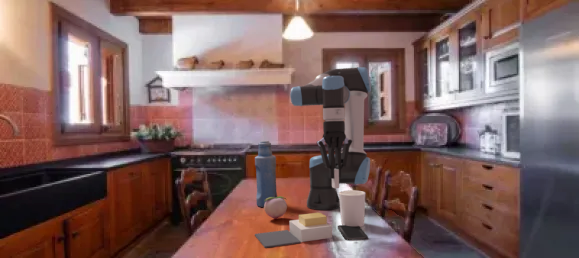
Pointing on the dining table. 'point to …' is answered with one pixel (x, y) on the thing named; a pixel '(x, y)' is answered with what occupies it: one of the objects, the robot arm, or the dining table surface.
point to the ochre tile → (312, 219)
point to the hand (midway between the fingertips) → (335, 187)
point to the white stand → (310, 231)
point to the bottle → (265, 173)
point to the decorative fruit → (275, 206)
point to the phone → (352, 232)
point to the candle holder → (352, 207)
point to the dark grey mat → (277, 238)
